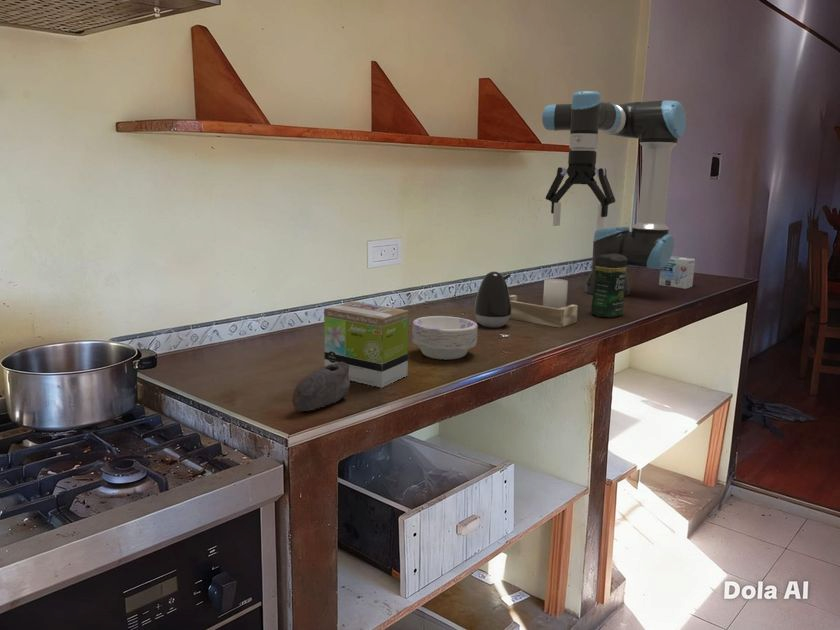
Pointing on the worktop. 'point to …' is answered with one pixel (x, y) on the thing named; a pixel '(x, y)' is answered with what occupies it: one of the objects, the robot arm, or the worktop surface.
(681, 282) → the light bulb box
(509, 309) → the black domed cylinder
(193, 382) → the worktop surface
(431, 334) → the paper bowls
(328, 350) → the tea box
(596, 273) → the coffee jar
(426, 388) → the worktop surface
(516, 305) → the rest cradle
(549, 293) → the white domed cylinder
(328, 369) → the perforated stone tool
